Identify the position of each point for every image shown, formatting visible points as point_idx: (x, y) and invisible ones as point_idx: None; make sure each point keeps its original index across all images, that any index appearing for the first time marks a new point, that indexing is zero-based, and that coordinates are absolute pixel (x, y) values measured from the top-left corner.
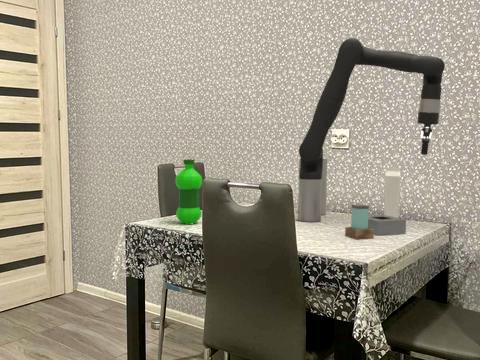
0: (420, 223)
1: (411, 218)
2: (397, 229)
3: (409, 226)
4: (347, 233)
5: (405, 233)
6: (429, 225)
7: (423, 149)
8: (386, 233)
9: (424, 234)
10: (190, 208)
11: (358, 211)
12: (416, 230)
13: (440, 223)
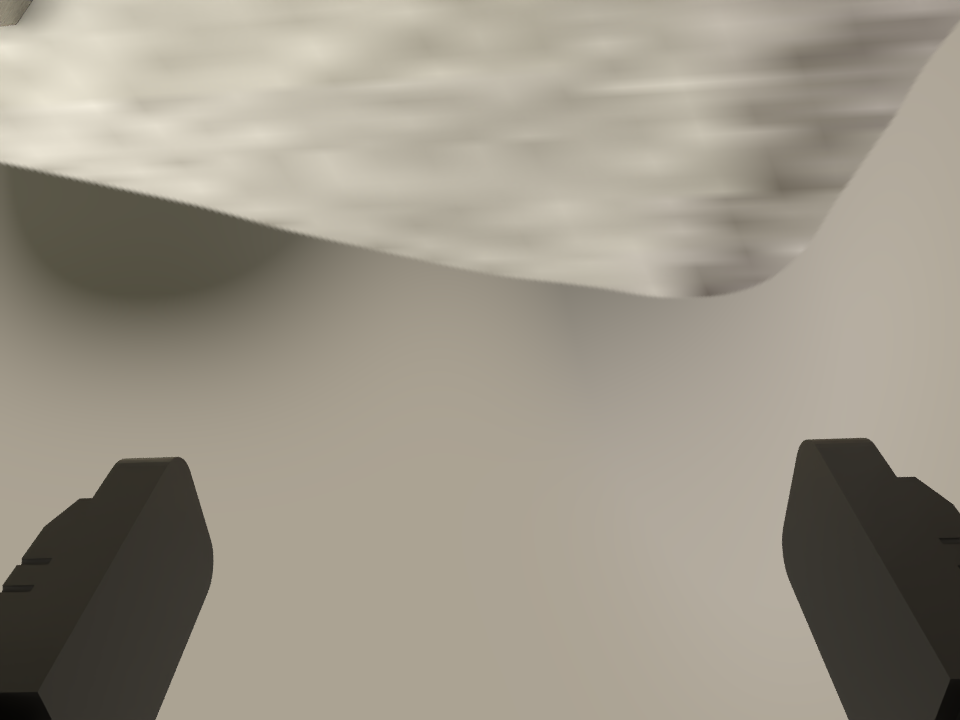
0: (623, 108)
1: (912, 3)
2: None
3: (407, 24)
4: None
5: (12, 22)
6: (544, 186)
7: (12, 597)
8: None
9: (86, 170)
10: None
11: None
12: (231, 99)
13: (689, 263)
